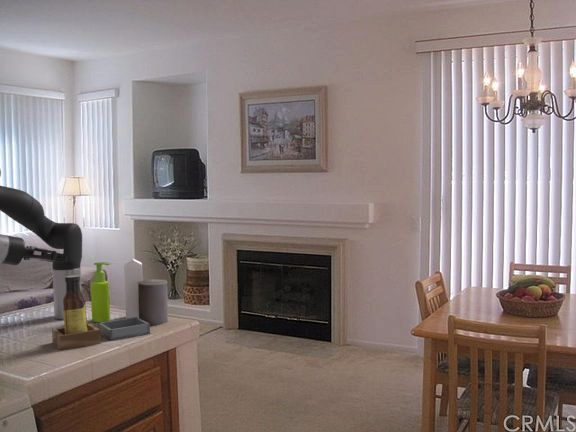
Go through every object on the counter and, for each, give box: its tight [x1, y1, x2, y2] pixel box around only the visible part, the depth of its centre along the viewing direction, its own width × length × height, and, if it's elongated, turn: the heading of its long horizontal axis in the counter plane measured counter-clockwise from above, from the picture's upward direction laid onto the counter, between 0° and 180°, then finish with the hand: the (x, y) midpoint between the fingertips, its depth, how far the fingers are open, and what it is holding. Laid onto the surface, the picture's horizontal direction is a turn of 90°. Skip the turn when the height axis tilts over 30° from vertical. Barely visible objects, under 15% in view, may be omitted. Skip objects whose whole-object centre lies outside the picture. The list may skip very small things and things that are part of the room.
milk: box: [123, 253, 144, 319], centre depth 196 cm, size 6×6×22 cm
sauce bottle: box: [63, 275, 88, 335], centre depth 165 cm, size 6×6×20 cm
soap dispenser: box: [90, 261, 111, 323], centre depth 193 cm, size 6×7×20 cm
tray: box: [97, 317, 151, 341], centre depth 176 cm, size 11×12×3 cm
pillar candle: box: [138, 277, 169, 326], centre depth 189 cm, size 10×10×15 cm
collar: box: [51, 322, 101, 351], centre depth 165 cm, size 10×11×4 cm
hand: (60, 258), depth 160 cm, fingers open, 8 cm apart
